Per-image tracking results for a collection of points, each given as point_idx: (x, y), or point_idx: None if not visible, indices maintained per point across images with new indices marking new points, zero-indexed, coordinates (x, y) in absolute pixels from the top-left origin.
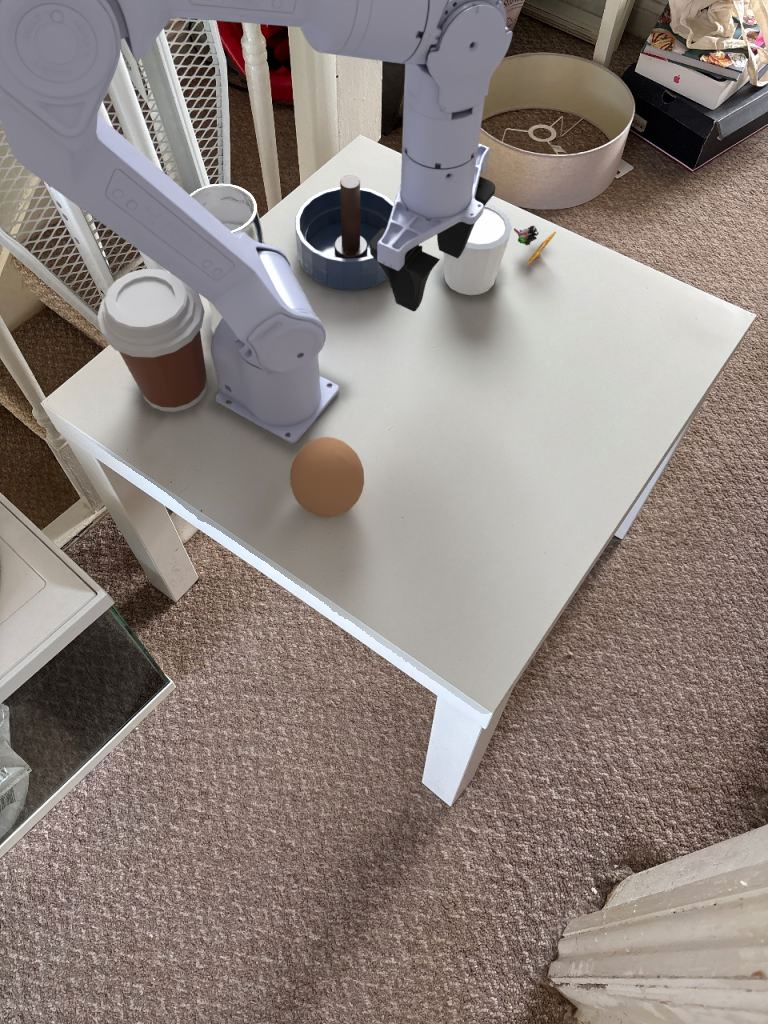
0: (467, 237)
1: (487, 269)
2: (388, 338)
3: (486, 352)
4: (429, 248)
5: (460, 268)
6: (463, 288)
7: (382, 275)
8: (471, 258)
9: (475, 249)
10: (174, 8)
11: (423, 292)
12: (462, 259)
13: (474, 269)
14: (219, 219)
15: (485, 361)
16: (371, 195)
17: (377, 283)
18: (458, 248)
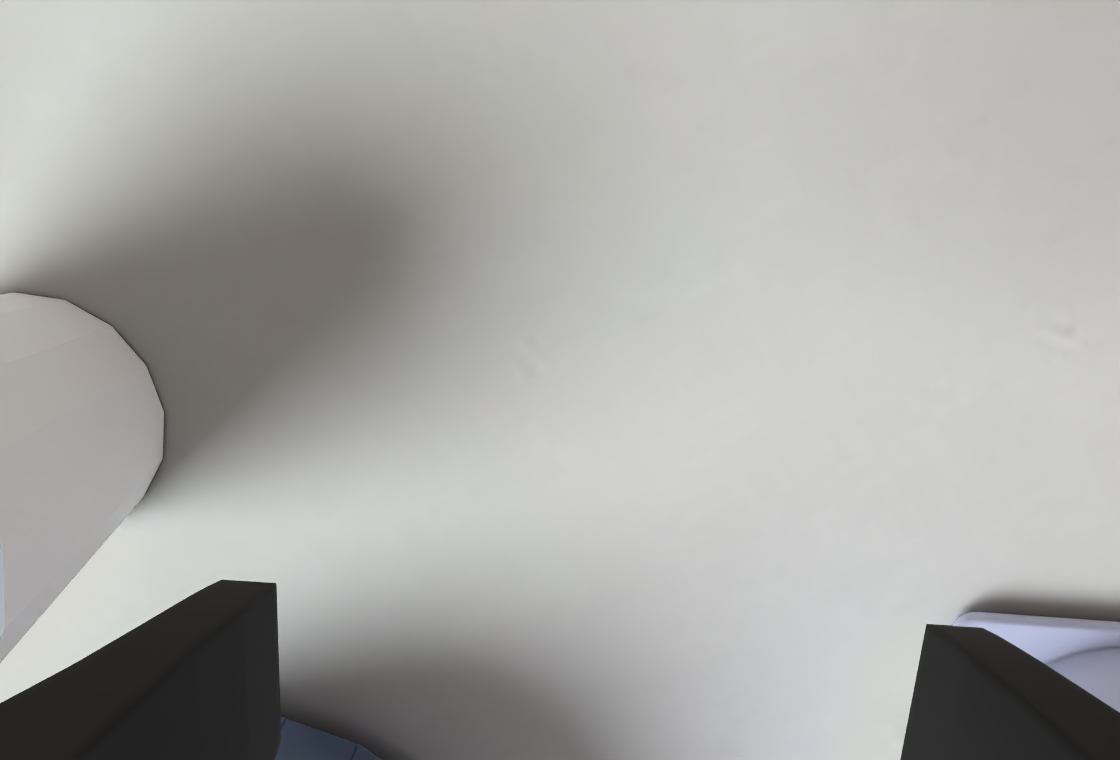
0: (133, 672)
1: (5, 352)
2: (586, 564)
3: (419, 130)
4: None
5: (94, 483)
6: (143, 408)
7: (317, 756)
8: (27, 468)
9: None
10: None
11: (1052, 716)
12: (59, 508)
13: (58, 415)
14: None
15: (474, 108)
16: None
17: (353, 745)
18: (236, 649)
